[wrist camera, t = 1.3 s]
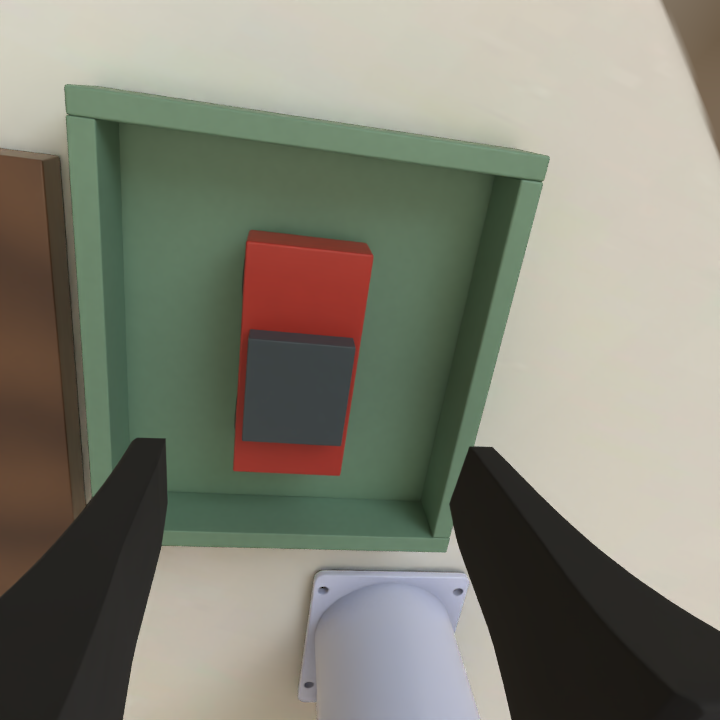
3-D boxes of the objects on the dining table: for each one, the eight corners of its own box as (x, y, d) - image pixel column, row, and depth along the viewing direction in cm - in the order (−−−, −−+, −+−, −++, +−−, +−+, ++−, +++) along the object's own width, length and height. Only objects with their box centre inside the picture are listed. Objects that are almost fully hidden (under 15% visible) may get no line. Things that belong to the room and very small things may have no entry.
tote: (431, 510, 27) (446, 552, 25) (114, 499, 25) (94, 544, 22) (518, 149, 20) (551, 156, 18) (94, 85, 18) (63, 83, 15)
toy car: (337, 442, 24) (345, 491, 21) (235, 436, 24) (227, 486, 21) (367, 238, 21) (381, 262, 18) (248, 224, 20) (240, 247, 17)
